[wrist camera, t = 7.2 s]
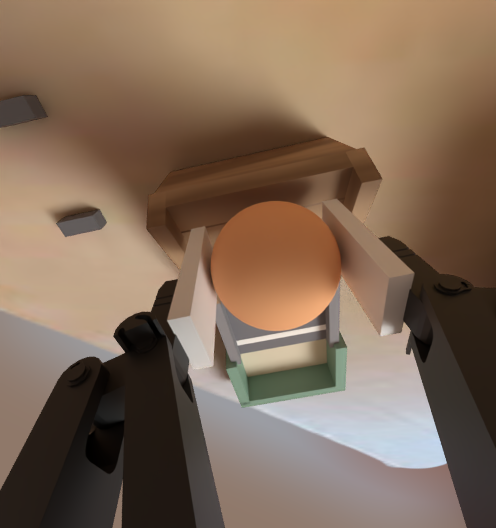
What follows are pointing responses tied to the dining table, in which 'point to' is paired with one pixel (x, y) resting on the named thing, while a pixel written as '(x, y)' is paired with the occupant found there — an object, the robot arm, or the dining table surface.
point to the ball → (276, 265)
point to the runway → (253, 339)
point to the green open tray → (289, 372)
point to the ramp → (259, 189)
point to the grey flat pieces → (31, 110)
